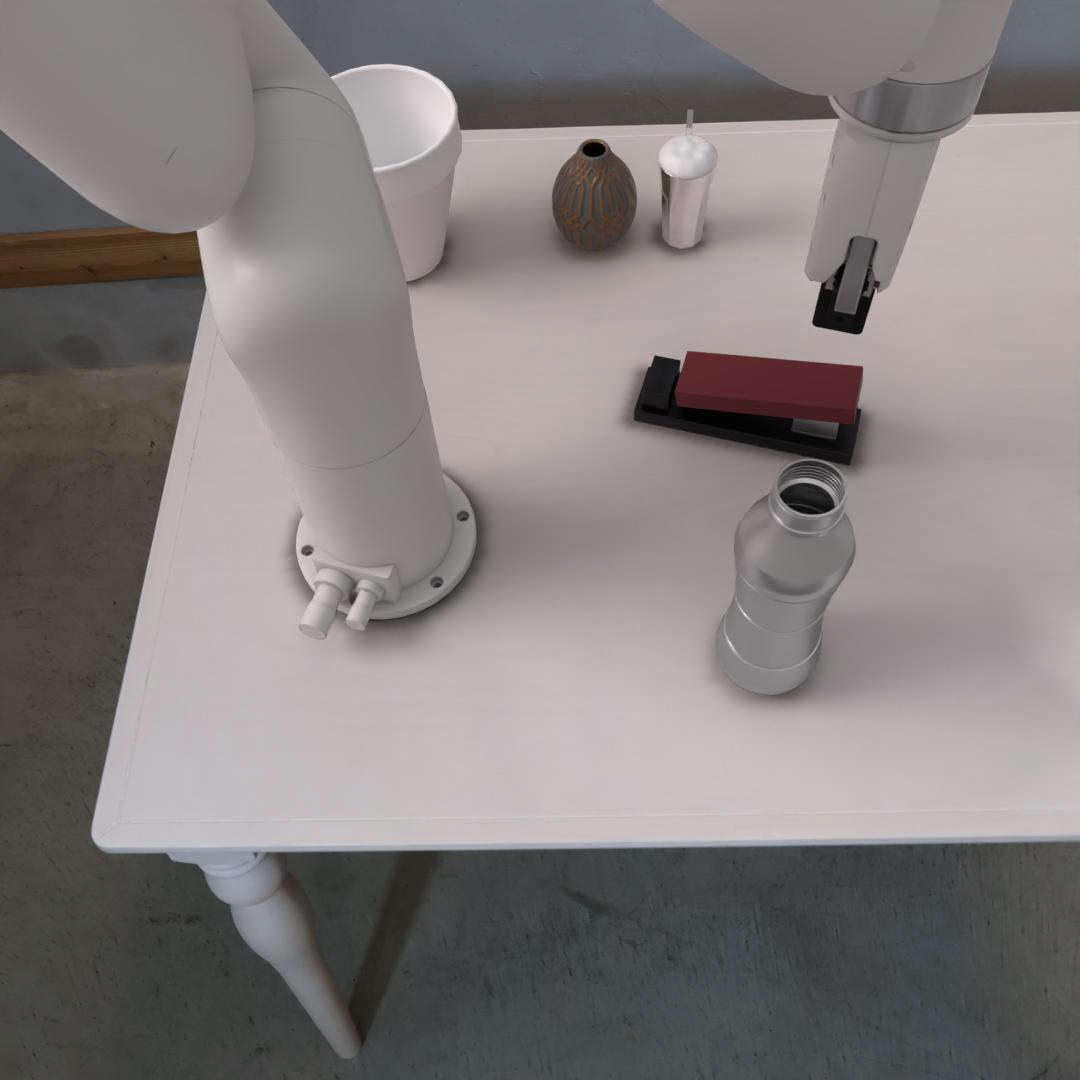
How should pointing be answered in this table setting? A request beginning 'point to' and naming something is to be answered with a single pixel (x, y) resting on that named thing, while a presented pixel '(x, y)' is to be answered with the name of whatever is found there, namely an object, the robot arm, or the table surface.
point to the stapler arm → (770, 387)
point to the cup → (408, 153)
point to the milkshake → (685, 186)
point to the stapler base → (741, 421)
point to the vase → (594, 197)
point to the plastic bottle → (786, 578)
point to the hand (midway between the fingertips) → (838, 321)
